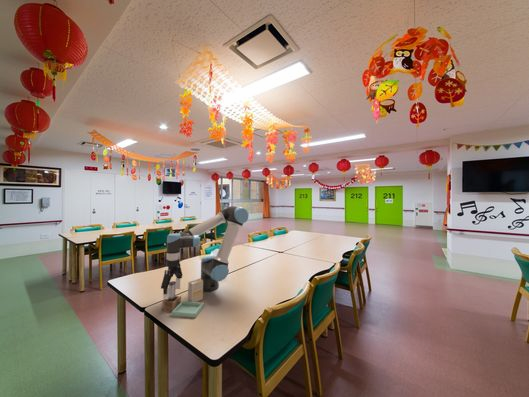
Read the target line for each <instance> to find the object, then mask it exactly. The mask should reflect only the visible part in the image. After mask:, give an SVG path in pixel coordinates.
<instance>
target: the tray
mask: <svg viewBox="0 0 529 397" xmlns="http://www.w3.org/2000/svg"><path fill="white" fill-rule="evenodd" d="M204 305H205V302H201V301H199V302H188V300H187V301H185V300H181V303H180V304H179V305H178V306H177V307H176V308H175V309H174V310H173V311H171V317H176V318H177V317H178V318H179V317H180V318H191V319H196V318H197V316H198V315H199V314H200V312H201V311H202V310H203V308H204Z"/></svg>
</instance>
